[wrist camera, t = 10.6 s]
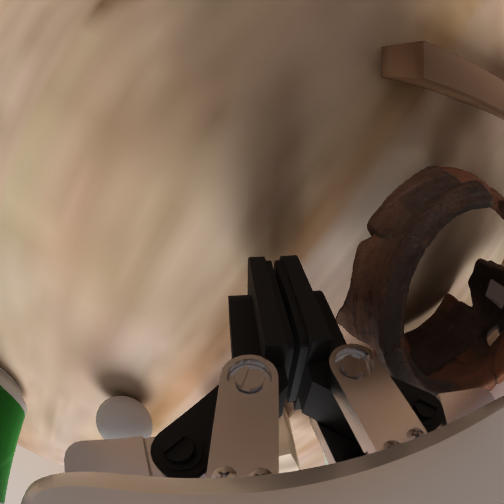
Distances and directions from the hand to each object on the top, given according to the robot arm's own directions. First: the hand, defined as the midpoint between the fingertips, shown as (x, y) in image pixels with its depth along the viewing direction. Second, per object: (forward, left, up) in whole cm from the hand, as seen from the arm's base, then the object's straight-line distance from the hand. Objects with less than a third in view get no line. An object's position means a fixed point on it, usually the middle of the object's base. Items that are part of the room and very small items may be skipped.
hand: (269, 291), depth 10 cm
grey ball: (+10, -8, -1) cm, 13 cm away
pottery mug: (0, +8, -2) cm, 8 cm away
